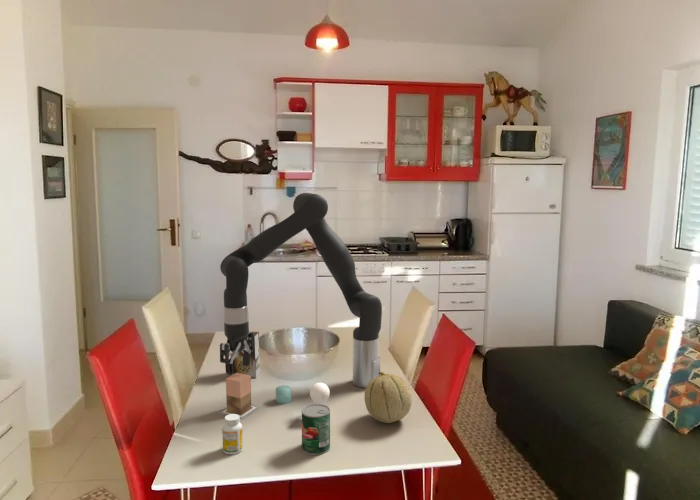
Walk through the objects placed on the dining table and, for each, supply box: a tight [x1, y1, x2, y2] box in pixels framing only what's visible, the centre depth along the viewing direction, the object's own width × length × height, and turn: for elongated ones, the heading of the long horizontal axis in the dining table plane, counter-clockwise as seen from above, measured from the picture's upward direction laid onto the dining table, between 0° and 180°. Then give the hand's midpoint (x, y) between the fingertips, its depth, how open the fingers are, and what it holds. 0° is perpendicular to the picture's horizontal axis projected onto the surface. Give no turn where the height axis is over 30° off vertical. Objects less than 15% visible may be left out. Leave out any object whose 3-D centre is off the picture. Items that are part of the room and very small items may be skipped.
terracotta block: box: [225, 373, 252, 398], centre depth 166 cm, size 6×6×6 cm
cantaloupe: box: [364, 371, 413, 424], centre depth 160 cm, size 15×15×15 cm
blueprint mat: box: [216, 404, 261, 420], centre depth 167 cm, size 10×10×1 cm
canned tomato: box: [301, 403, 331, 456], centre depth 144 cm, size 8×8×11 cm
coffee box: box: [231, 331, 261, 379], centre depth 197 cm, size 9×6×16 cm
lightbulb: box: [309, 382, 330, 406], centre depth 163 cm, size 6×6×11 cm
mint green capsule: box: [275, 384, 292, 405], centre depth 174 cm, size 5×5×5 cm
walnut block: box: [225, 391, 252, 415], centre depth 167 cm, size 6×6×6 cm
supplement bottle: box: [221, 414, 244, 456], centre depth 143 cm, size 5×5×10 cm
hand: (238, 369), depth 165 cm, fingers open, 8 cm apart
